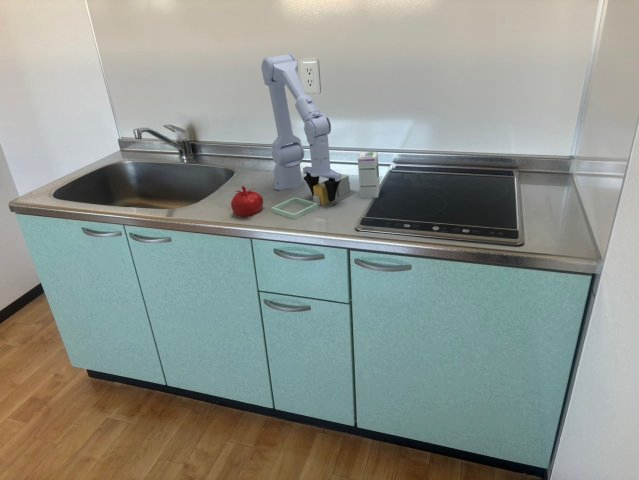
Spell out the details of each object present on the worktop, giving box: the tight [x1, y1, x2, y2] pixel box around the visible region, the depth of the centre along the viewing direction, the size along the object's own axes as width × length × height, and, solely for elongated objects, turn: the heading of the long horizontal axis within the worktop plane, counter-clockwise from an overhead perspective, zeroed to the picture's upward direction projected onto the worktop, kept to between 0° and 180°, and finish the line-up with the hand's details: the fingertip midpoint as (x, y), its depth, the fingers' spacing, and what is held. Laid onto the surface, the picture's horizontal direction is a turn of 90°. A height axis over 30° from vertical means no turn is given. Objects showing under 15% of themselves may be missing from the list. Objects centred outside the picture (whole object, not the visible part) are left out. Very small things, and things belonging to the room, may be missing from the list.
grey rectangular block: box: [337, 173, 351, 197], centre depth 159 cm, size 4×5×6 cm
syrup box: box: [357, 151, 381, 199], centre depth 154 cm, size 6×6×14 cm
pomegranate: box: [230, 185, 264, 218], centre depth 153 cm, size 10×10×9 cm
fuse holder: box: [309, 181, 359, 209], centre depth 157 cm, size 9×16×4 cm, turn 137°
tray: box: [271, 196, 319, 220], centre depth 151 cm, size 10×10×3 cm
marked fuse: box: [313, 181, 329, 205], centre depth 154 cm, size 4×5×6 cm
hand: (323, 198), depth 155 cm, fingers open, 6 cm apart
